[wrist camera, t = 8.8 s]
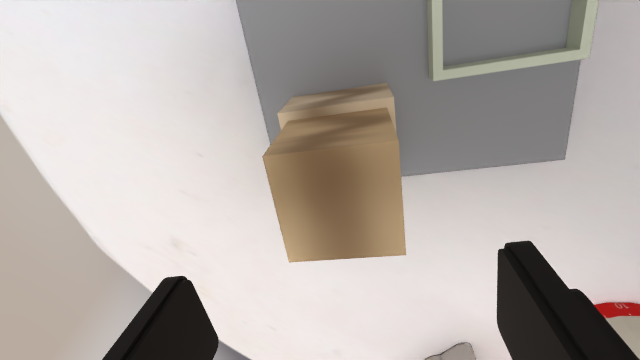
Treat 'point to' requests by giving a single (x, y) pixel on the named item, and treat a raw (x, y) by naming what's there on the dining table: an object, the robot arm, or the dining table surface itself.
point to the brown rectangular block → (339, 103)
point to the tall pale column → (456, 353)
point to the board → (424, 73)
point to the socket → (575, 50)
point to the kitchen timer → (624, 322)
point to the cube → (338, 186)
